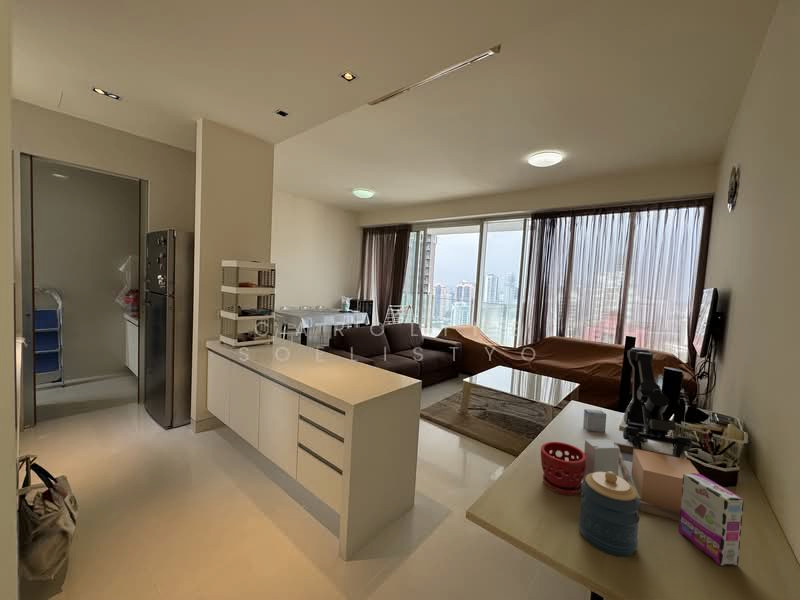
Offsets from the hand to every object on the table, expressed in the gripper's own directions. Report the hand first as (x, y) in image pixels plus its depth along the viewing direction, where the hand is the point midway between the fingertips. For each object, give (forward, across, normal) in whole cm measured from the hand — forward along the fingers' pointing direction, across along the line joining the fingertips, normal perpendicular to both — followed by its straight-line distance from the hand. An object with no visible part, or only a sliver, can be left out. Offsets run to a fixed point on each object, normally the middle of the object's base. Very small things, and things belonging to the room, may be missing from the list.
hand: (659, 463), depth 111 cm
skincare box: (+14, -18, -4) cm, 24 cm away
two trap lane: (+5, 0, +5) cm, 7 cm away
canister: (+32, -19, -22) cm, 43 cm away
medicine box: (-22, -16, +32) cm, 41 cm away
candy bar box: (+26, +4, -16) cm, 30 cm away
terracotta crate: (+10, 0, -1) cm, 10 cm away
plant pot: (+18, -30, -8) cm, 36 cm away
